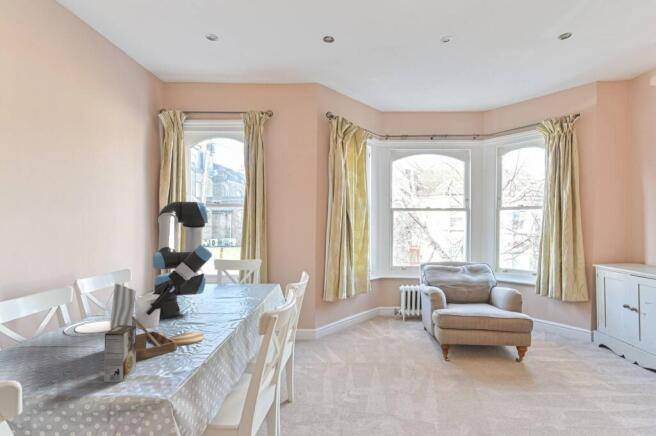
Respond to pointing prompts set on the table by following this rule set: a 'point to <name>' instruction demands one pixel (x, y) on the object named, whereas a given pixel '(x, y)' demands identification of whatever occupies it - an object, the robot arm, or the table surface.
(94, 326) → the plate
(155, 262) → the robot arm
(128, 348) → the coffee box
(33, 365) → the table surface
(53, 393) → the table surface
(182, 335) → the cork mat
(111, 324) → the cold frame
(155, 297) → the candle holder
